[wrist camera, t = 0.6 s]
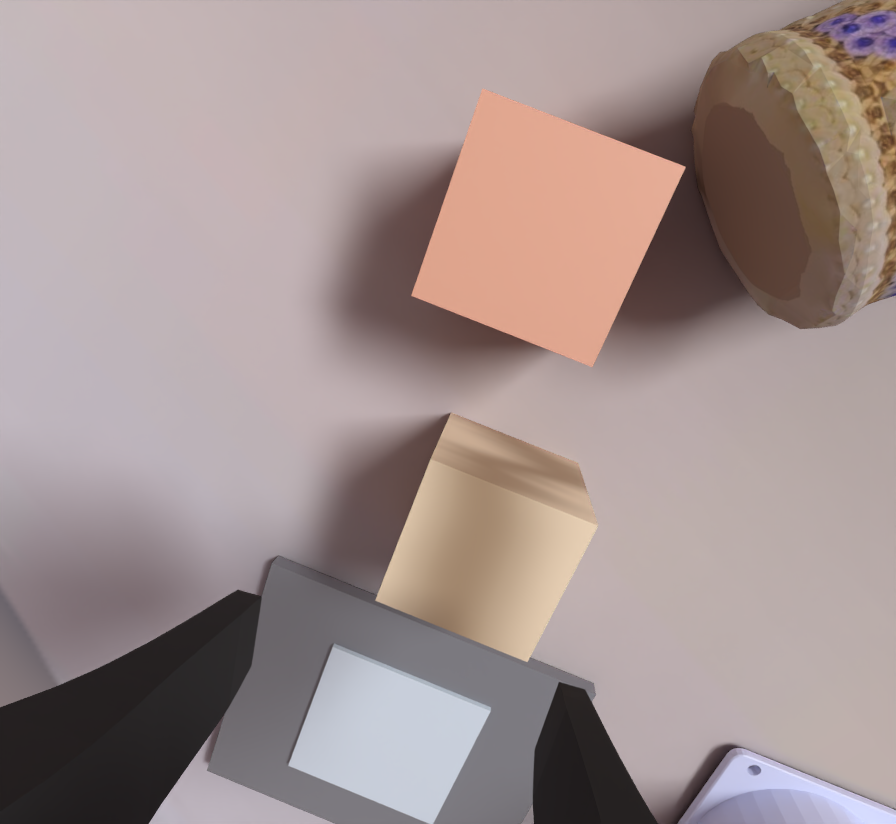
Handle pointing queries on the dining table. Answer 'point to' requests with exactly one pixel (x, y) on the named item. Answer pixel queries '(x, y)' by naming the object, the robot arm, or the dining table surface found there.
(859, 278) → the decorative bottle
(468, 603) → the beech block
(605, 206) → the terracotta block
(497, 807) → the baseplate
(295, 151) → the dining table surface
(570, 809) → the robot arm
